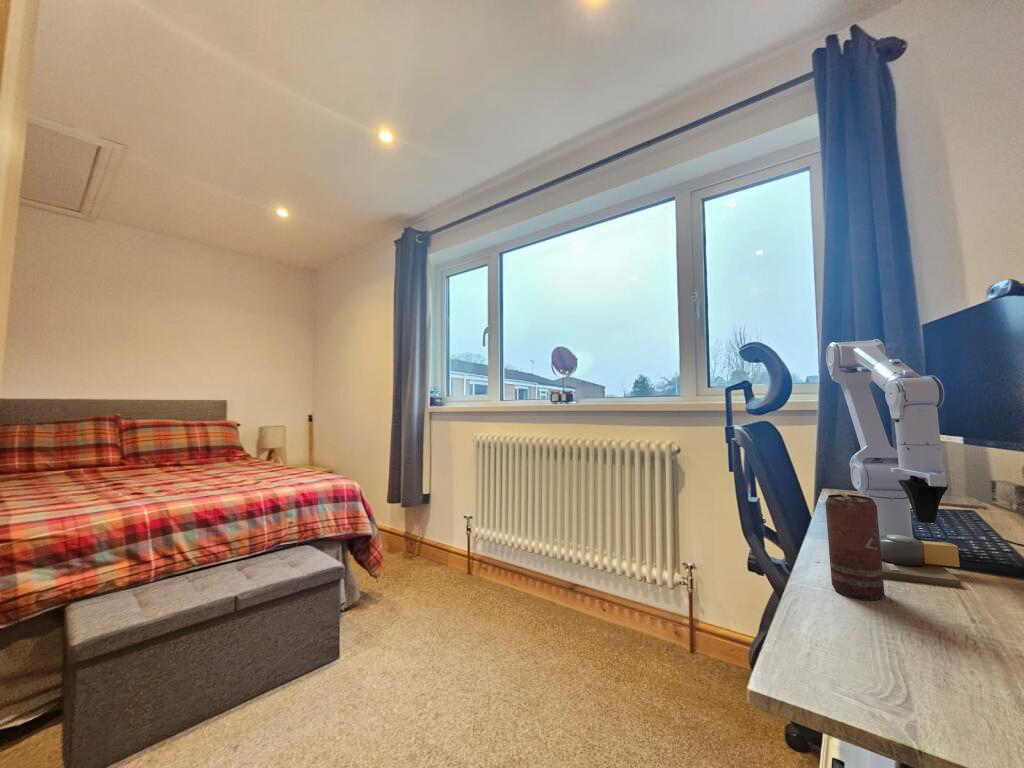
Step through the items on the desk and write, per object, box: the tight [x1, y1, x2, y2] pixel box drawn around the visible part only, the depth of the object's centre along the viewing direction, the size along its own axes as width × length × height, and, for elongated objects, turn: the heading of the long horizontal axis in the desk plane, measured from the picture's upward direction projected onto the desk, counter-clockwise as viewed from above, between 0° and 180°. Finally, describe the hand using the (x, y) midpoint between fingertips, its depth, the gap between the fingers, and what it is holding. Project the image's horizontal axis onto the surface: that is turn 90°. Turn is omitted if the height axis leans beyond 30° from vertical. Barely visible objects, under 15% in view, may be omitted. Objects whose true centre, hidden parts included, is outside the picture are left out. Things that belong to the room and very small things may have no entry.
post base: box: [881, 559, 962, 588], centre depth 72 cm, size 14×10×1 cm
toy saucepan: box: [879, 535, 961, 568], centre depth 72 cm, size 10×6×4 cm, turn 62°
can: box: [824, 493, 885, 601], centre depth 64 cm, size 6×6×14 cm
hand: (925, 521), depth 75 cm, fingers closed
